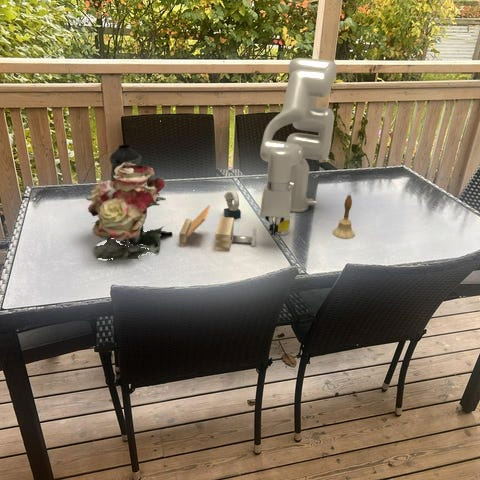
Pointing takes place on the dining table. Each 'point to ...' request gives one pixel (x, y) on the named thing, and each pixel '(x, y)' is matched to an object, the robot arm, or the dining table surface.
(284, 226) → the supplement bottle
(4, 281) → the dining table surface
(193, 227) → the flap
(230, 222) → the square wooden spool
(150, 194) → the rose bouquet
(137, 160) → the beer stein
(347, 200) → the hand bell
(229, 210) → the watch
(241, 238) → the pin
